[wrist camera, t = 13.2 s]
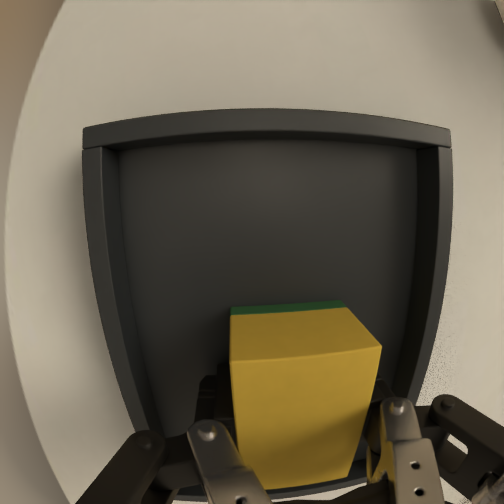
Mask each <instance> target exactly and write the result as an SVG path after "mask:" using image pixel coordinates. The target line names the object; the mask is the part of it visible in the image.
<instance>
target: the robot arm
mask: <svg viewBox="0 0 504 504" xmlns="http://www.w3.org/2000/svg"><path fill="white" fill-rule="evenodd" d="M450 434H451V435H452V436H454V437H455V438H456V439H458V440H459V441H461V442H462V443H463V444H465V445H466V446H467V448H468V454H465V453H464V452H463V451H461V450H460V449H459V448H457V447H456V446H455V445H453V444H452V443H451V442H449V441H448V440H447V439H448V437H449V435H450ZM363 441H367V443H368V447H367V450H366V461H367V485H365V486H362V487H358V488H356V489H354V490H352V491H350V492H348V493H346V494H344V495H342V496H339V497H337V498H335V499H332V500H290V501H282V502H272V501H271V499H270V498H269V496H268V494H267V493H266V491H265V489H264V488H263V486H262V484H261V483H260V481H259V479H258V477H257V476H256V474H255V472H254V470H253V469H252V467H251V466H250V465H245V463H244V461H243V459H242V458H241V456H240V454H239V452H238V450H237V443H236V432H235V422H234V411H233V400H232V388H231V376H230V364H217V374H216V375H205V377H204V378H203V379H202V380H201V381H200V384H199V392H198V398H197V404H196V412H195V419H194V423H193V424H192V425H191V426H190V427H189V428H188V430H187V432H186V433H184V434H181V435H178V436H174V437H168V438H164V437H163V436H162V435H161V434H160V433H158V432H156V431H153V430H141V431H137V432H135V433H133V434H132V435H130V436H129V438H128V439H127V440H126V441H125V443H124V444H123V445H122V446H121V448H120V449H119V450H118V451H117V453H116V454H115V455H114V456H113V458H112V459H111V460H110V461H109V463H108V464H107V465H106V466H105V468H104V469H103V470H102V471H101V473H100V474H99V475H98V476H97V478H96V479H95V480H94V481H93V482H92V484H91V485H90V486H89V487H88V489H87V490H86V491H85V492H84V493H83V495H82V496H81V497H80V498H79V500H78V501H77V502H76V503H75V504H172V502H173V500H174V498H175V496H176V495H177V493H178V491H179V489H180V488H184V487H189V486H194V485H199V484H201V485H202V488H203V491H204V493H205V496H206V499H207V501H208V504H453V503H450V502H447V501H444V496H443V490H442V485H441V480H440V477H441V478H443V479H444V480H445V481H446V482H448V483H449V484H450V485H451V486H452V487H454V488H455V489H456V490H457V491H459V492H460V493H461V494H462V495H464V496H465V497H466V498H467V499H469V500H470V501H471V502H472V504H504V427H503V426H501V425H500V424H498V423H496V422H495V421H493V420H492V419H490V418H488V417H487V416H485V415H484V414H482V413H481V412H479V411H477V410H476V409H474V408H473V407H471V406H469V405H468V404H466V403H465V402H463V401H462V400H460V399H458V398H457V397H455V396H453V395H448V394H443V395H439V396H437V397H435V398H434V399H433V401H432V404H431V405H429V406H414V405H413V404H412V402H411V401H409V400H408V399H406V398H403V397H397V396H395V394H394V393H393V392H392V390H391V389H390V388H389V386H388V385H387V384H386V382H385V381H384V380H383V379H382V377H381V376H380V374H378V372H377V375H376V380H375V384H374V388H373V392H372V397H371V401H370V404H369V408H368V412H367V416H366V419H365V423H364V426H363V430H362V433H361V437H360V440H359V442H363Z"/></svg>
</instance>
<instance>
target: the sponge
mask: <svg viewBox="0 0 504 504" xmlns="http://www.w3.org/2000/svg"><path fill="white" fill-rule="evenodd" d="M381 350H382V346H381V344H380V343H379V342H378V341H377V340H376V339H375V338H374V337H373V335H372V334H371V333H370V332H369V331H368V330H367V329H366V328H365V327H364V325H363V324H362V323H361V322H360V321H359V320H358V319H357V318H356V317H355V315H354V314H353V313H352V312H351V311H350V310H349V309H348V308H347V307H346V305H345V304H344V303H343V302H342V301H341V300H333V301H321V302H308V303H294V304H278V305H260V306H239V307H230V355H229V363H230V376H231V388H232V400H233V411H234V422H235V432H236V443H237V450H238V452H239V454H240V456H241V458H242V459H243V461H244V463H245V465H250V466H251V467H252V469H253V470H254V472H255V474H256V476H257V477H258V479H259V481H260V483H261V484H262V486H263V488H264V489H265V490H266V489H277V488H286V487H294V486H301V485H308V484H314V483H320V482H325V481H330V480H335V479H340V478H344V477H347V475H348V473H349V470H350V467H351V464H352V461H353V458H354V455H355V452H356V449H357V446H358V443H359V440H360V437H361V433H362V430H363V426H364V423H365V419H366V416H367V412H368V408H369V404H370V401H371V397H372V392H373V388H374V384H375V380H376V375H377V370H378V366H379V361H380V355H381Z"/></svg>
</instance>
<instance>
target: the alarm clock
mask: <svg viewBox="0 0 504 504" xmlns="http://www.w3.org/2000/svg"><path fill="white" fill-rule="evenodd" d="M495 3H496V5H497V8H498V10H499V13H500V15H501V18H502V20H503V23H504V0H495Z"/></svg>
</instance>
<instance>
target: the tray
mask: <svg viewBox="0 0 504 504" xmlns="http://www.w3.org/2000/svg"><path fill="white" fill-rule="evenodd" d="M83 149H84V150H82V173H83V196H84V210H85V222H86V232H87V241H88V249H89V256H90V263H91V270H92V276H93V282H94V288H95V293H96V298H97V303H98V308H99V313H100V317H101V322H102V326H103V331H104V335H105V339H106V343H107V346H108V350H109V354H110V358H111V361H112V365H113V368H114V371H115V375H116V378H117V381H118V384H119V388H120V391H121V394H122V397H123V400H124V402H125V405H126V408H127V411H128V414H129V416H130V419H131V422H132V424H133V427H134V429H135V432H137V431H141V430H153V431H156V432H158V433H160V434H161V435H162V436H163V437H164V438H168V437H174V436H178V435H181V434H184V433H186V432H187V430H188V428H189V427H190V426H191V425H192V424H193V423H194V419H195V412H196V404H197V398H198V392H199V384H200V381H201V380H202V379H203V378H204V377H205V375H216V374H217V364H230V363H229V355H230V307H239V306H260V305H278V304H294V303H308V302H321V301H333V300H341V301H342V302H343V303H344V304H345V305H346V307H347V308H348V309H349V310H350V311H351V312H352V313H353V314H354V315H355V317H356V318H357V319H358V320H359V321H360V322H361V323H362V324H363V325H364V327H365V328H366V329H367V330H368V331H369V332H370V333H371V334H372V335H373V337H374V338H375V339H376V340H377V341H378V342H379V343H380V344H381V346H382V350H381V355H380V361H379V366H378V370H377V372H378V374H380V376H381V377H382V379H383V380H384V381H385V382H386V384H387V385H388V386H389V388H390V389H391V390H392V392H393V393H394V394H395V396H397V397H403V398H406V399H408V400H409V401H411V402H412V404H413V405H414V406H415V405H416V402H417V399H418V397H419V394H420V391H421V387H422V384H423V381H424V378H425V375H426V371H427V368H428V364H429V361H430V357H431V353H432V349H433V345H434V341H435V337H436V333H437V328H438V324H439V319H440V314H441V309H442V303H443V298H444V292H445V285H446V279H447V271H448V263H449V254H450V243H451V230H452V211H453V164H452V149H451V135H450V130H449V129H447V128H442V127H438V126H433V125H428V124H423V123H418V122H413V121H407V120H401V119H395V118H389V117H382V116H374V115H367V114H358V113H348V112H338V111H325V110H309V109H280V108H248V109H219V110H203V111H190V112H179V113H170V114H161V115H153V116H146V117H139V118H132V119H126V120H120V121H114V122H109V123H104V124H99V125H94V126H89V127H85V128H83ZM367 447H368V443H367V441H363V442H359V443H358V446H357V449H356V452H355V455H354V458H353V461H352V464H351V467H350V470H349V473H348V475H347V477H344V478H340V479H335V480H330V481H325V482H320V483H314V484H308V485H301V486H294V487H286V488H277V489H266V490H265V491H266V493H267V494H268V496H269V498H270V499H271V500H273V499H283V498H291V497H298V496H305V495H311V494H317V493H322V492H327V491H332V490H337V489H341V488H346V487H350V486H354V485H358V484H362V483H365V482H367V461H366V450H367ZM174 500H179V501H196V502H208V501H207V499H206V496H205V493H204V491H203V488H202V485H201V484H199V485H194V486H189V487H184V488H180V489H179V491H178V493H177V495H176V496H175V498H174Z"/></svg>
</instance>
